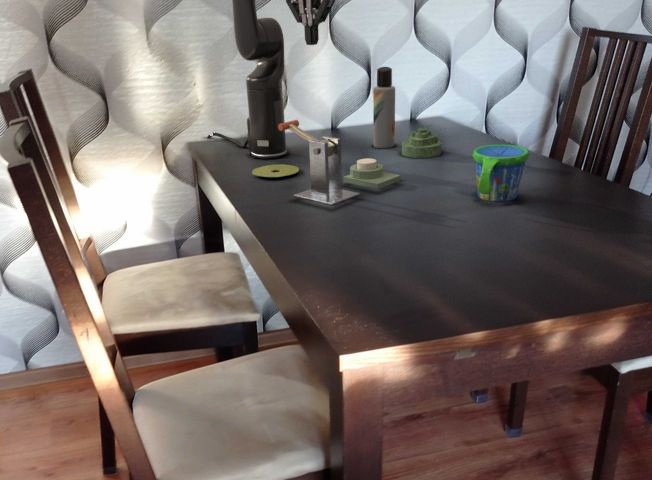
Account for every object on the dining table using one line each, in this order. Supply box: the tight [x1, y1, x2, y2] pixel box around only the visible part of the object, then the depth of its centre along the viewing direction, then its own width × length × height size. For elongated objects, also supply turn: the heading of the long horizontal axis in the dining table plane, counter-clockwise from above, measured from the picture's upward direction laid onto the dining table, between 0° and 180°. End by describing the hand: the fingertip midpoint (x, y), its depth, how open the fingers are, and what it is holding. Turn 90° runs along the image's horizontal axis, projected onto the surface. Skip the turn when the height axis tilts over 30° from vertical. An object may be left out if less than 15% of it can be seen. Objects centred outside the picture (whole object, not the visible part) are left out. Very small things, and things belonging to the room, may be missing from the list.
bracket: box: [293, 135, 361, 207], centre depth 147 cm, size 11×9×13 cm
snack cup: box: [472, 144, 530, 202], centre depth 142 cm, size 16×10×10 cm
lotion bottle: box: [372, 66, 396, 149], centre depth 185 cm, size 6×6×20 cm
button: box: [356, 157, 378, 170], centre depth 157 cm, size 4×4×2 cm
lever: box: [278, 119, 335, 157], centre depth 147 cm, size 13×5×2 cm, turn 45°
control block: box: [343, 163, 402, 190], centre depth 157 cm, size 10×8×4 cm
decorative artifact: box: [401, 124, 442, 159], centre depth 179 cm, size 10×7×10 cm
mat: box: [251, 163, 300, 178], centre depth 167 cm, size 11×11×2 cm
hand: (311, 44), depth 153 cm, fingers closed
